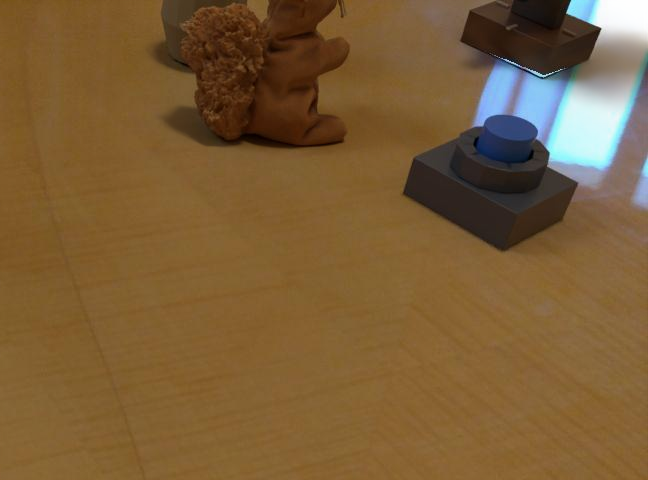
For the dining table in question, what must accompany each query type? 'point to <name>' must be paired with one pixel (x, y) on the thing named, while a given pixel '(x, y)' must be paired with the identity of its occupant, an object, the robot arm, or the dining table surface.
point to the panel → (529, 38)
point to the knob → (542, 11)
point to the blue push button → (507, 139)
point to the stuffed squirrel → (264, 70)
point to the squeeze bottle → (184, 19)
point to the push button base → (490, 190)
